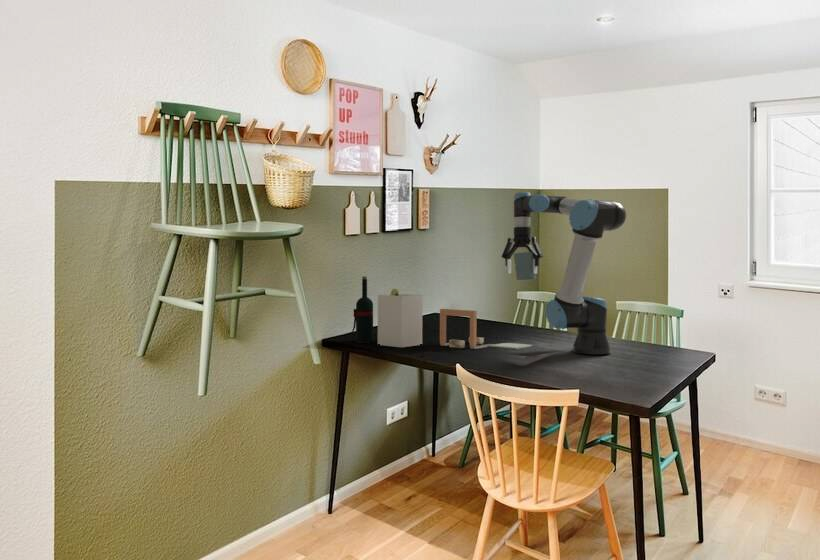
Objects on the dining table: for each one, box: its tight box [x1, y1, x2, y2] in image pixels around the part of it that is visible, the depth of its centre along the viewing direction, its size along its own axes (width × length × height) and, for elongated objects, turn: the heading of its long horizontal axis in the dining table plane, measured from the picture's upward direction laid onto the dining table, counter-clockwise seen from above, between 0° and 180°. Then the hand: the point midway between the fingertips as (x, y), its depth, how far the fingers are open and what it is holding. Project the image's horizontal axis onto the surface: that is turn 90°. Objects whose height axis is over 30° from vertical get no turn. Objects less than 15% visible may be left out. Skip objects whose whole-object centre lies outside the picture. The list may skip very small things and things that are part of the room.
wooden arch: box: [439, 308, 478, 347], centre depth 277 cm, size 18×2×15 cm, turn 50°
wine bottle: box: [351, 276, 374, 343], centre depth 291 cm, size 8×10×30 cm
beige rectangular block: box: [448, 336, 485, 349], centre depth 282 cm, size 6×18×3 cm, turn 140°
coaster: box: [490, 342, 533, 350], centre depth 280 cm, size 13×13×1 cm
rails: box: [439, 342, 495, 350], centre depth 283 cm, size 18×15×1 cm
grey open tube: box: [513, 251, 537, 281], centre depth 293 cm, size 10×10×12 cm
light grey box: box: [377, 293, 424, 348], centre depth 285 cm, size 14×14×22 cm
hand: (521, 273), depth 294 cm, fingers open, 13 cm apart
